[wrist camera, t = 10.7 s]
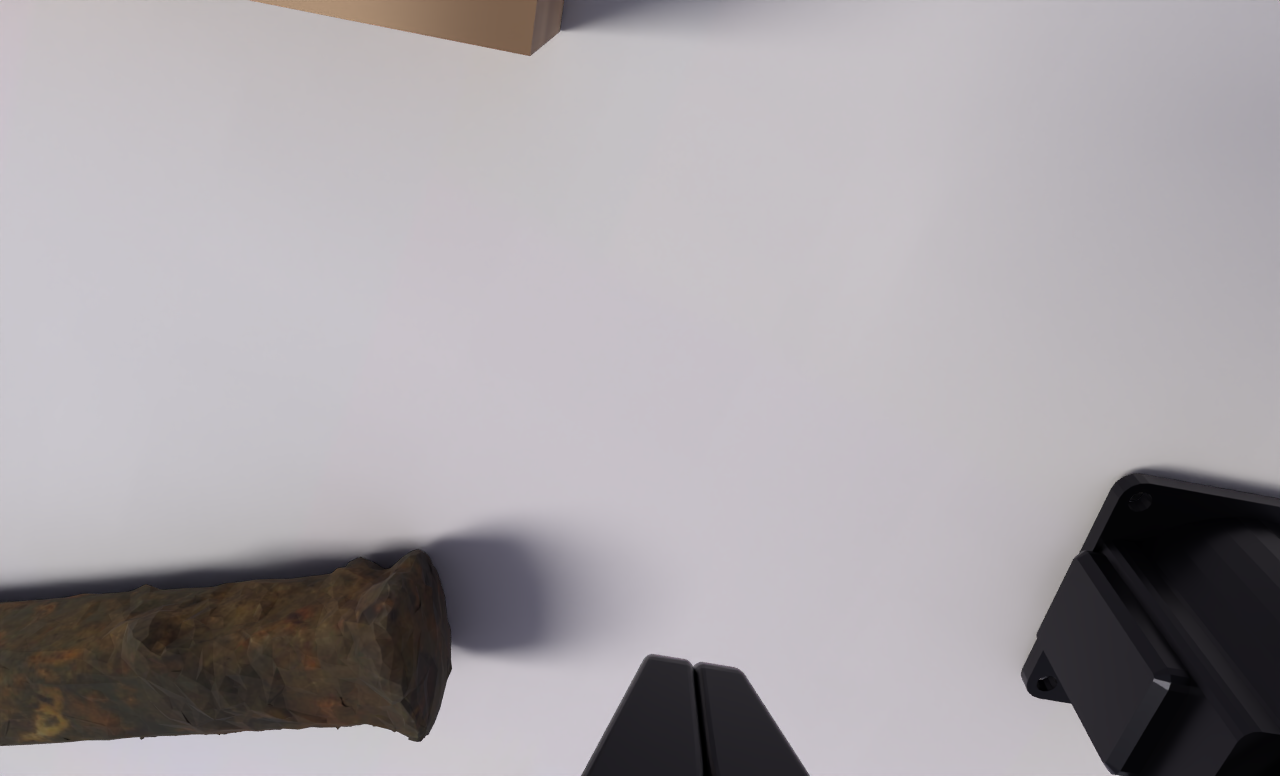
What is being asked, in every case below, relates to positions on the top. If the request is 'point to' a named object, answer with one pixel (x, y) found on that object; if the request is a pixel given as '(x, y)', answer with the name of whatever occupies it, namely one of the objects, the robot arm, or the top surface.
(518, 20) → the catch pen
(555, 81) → the top surface
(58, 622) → the brown wooden log
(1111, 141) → the top surface
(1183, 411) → the top surface
